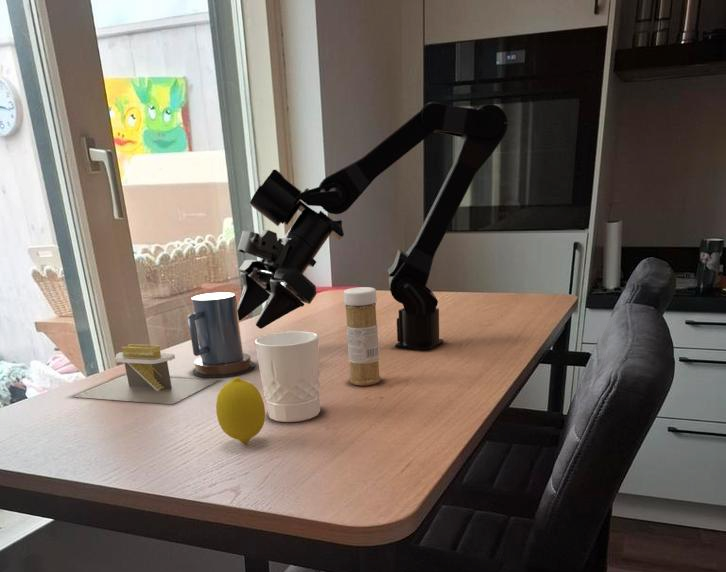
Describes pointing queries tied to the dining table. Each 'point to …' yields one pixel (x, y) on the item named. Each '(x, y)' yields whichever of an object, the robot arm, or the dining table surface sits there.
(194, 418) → the dining table surface
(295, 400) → the white cup
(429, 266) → the robot arm
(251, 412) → the lemon
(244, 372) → the base
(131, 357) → the platform
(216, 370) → the mug
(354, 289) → the spice jar
